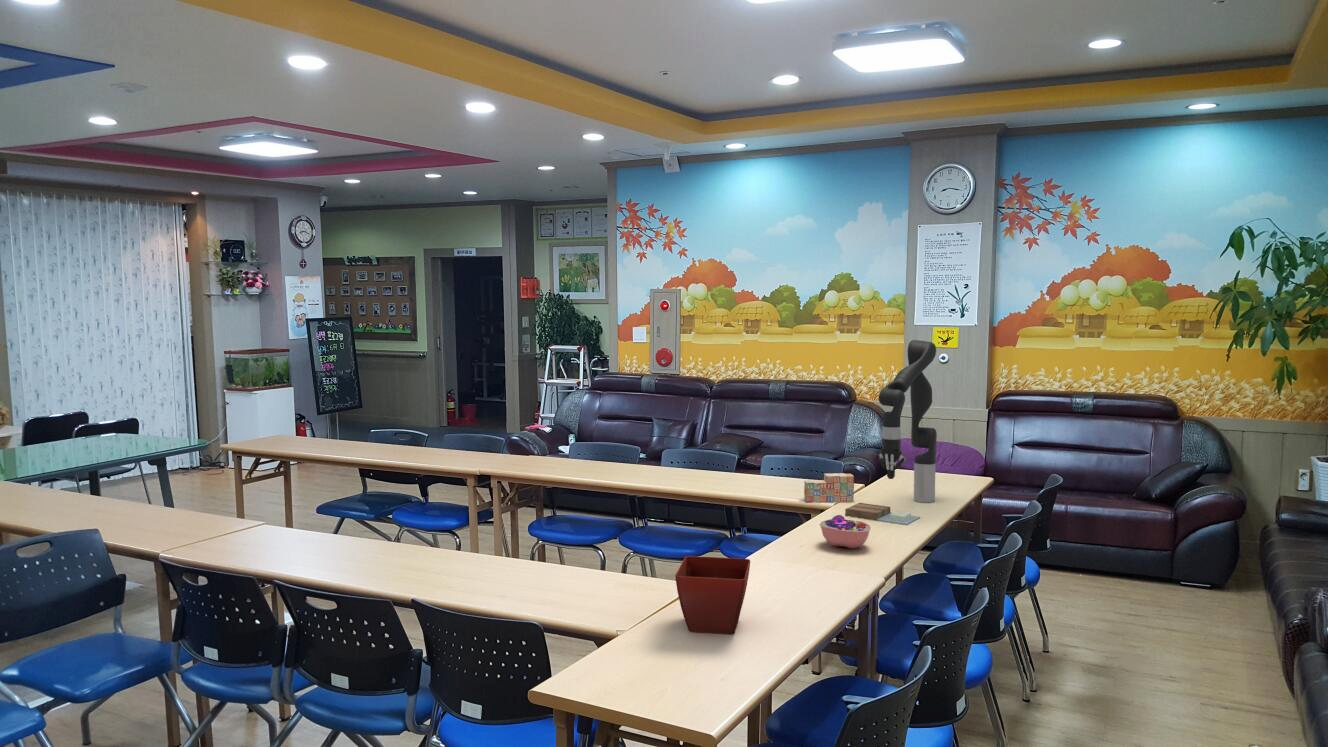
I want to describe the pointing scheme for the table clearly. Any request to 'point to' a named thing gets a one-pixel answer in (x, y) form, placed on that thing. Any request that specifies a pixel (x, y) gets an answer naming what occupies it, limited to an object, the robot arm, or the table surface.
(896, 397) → the robot arm
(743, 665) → the table surface
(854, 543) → the cell model
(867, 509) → the block
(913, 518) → the mat
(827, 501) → the stack of blocks
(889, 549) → the table surface
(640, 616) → the table surface
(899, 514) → the tile
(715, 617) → the plant pot
